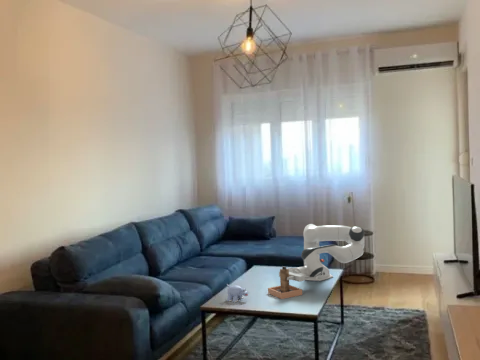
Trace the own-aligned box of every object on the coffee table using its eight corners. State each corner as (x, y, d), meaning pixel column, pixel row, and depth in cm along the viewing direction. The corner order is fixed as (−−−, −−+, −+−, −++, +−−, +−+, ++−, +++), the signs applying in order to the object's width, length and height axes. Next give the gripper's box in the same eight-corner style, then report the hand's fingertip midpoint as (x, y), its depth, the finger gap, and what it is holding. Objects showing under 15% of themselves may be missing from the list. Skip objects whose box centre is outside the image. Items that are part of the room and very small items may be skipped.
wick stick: (285, 289, 317) (284, 265, 316) (289, 290, 314) (288, 266, 313) (280, 290, 314) (279, 266, 314) (284, 291, 311) (284, 267, 310)
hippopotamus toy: (243, 303, 298) (243, 288, 297) (222, 300, 305) (222, 285, 304) (251, 298, 307) (251, 283, 307) (231, 296, 314) (230, 281, 314)
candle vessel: (288, 289, 325) (288, 284, 325) (302, 294, 311) (302, 289, 311) (268, 293, 317) (267, 288, 317) (281, 299, 303) (281, 293, 303)
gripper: (310, 281, 314) (295, 285, 305) (288, 276, 330) (273, 280, 321) (310, 272, 313) (295, 275, 305) (287, 267, 329) (273, 270, 321)
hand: (283, 278), depth 313 cm, fingers closed on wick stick, 4 cm apart
